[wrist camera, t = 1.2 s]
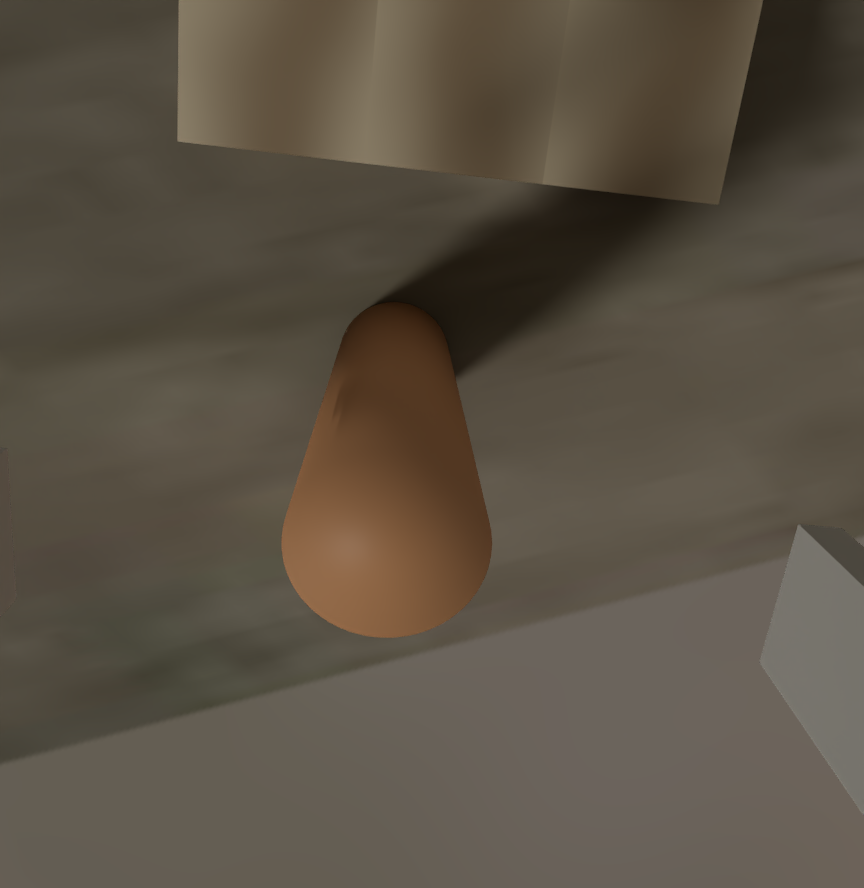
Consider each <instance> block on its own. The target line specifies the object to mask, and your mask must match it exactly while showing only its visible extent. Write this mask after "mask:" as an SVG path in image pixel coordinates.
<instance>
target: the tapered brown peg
mask: <svg viewBox="0 0 864 888" xmlns="http://www.w3.org/2000/svg"><path fill="white" fill-rule="evenodd" d="M491 550H492V536H491V528H490V523H489V519H488V515H487V510H486V506H485V502H484V498H483V493H482V489H481V485H480V481H479V476H478V472H477V468H476V464H475V459H474V455H473V451H472V447H471V442H470V438H469V434H468V430H467V425H466V421H465V417H464V413H463V408H462V404H461V400H460V396H459V391H458V387H457V383H456V379H455V374H454V370H453V366H452V362H451V357H450V353H449V349H448V345H447V341H446V338H445V335H444V333H443V331H442V329H441V328H440V326H439V325H438V323H437V322H436V321H435V320H434V319H433V318H432V317H431V316H430V315H429V314H428V313H426V312H425V311H423V310H422V309H420V308H418V307H416V306H413V305H410V304H407V303H401V302H387V303H382V304H378V305H375V306H372V307H370V308H368V309H366V310H365V311H363V312H362V313H360V314H359V315H358V316H357V317H356V318H355V319H354V320H353V321H352V322H351V323H350V325H349V326H348V328H347V330H346V331H345V334H344V336H343V338H342V342H341V345H340V348H339V351H338V354H337V357H336V360H335V364H334V367H333V370H332V373H331V376H330V379H329V382H328V386H327V389H326V392H325V395H324V398H323V401H322V404H321V407H320V411H319V414H318V417H317V420H316V423H315V426H314V429H313V433H312V436H311V439H310V442H309V445H308V448H307V451H306V454H305V458H304V461H303V464H302V467H301V470H300V473H299V476H298V480H297V483H296V486H295V489H294V492H293V495H292V498H291V501H290V505H289V508H288V511H287V514H286V518H285V521H284V525H283V531H282V554H283V561H284V565H285V568H286V571H287V574H288V576H289V579H290V581H291V583H292V585H293V587H294V588H295V590H296V591H297V593H298V594H299V596H300V597H301V598H302V599H303V600H304V602H305V603H306V604H307V605H308V606H309V607H310V608H311V609H312V610H313V611H314V612H316V613H317V614H318V615H319V616H321V617H322V618H324V619H325V620H327V621H328V622H330V623H332V624H334V625H336V626H338V627H339V628H342V629H345V630H347V631H350V632H353V633H357V634H360V635H364V636H371V637H385V638H392V637H403V636H409V635H413V634H418V633H421V632H424V631H427V630H430V629H432V628H434V627H436V626H438V625H440V624H442V623H444V622H445V621H447V620H449V619H450V618H452V617H453V616H454V615H456V614H457V613H458V612H459V611H460V610H462V609H463V608H464V607H465V606H466V605H467V604H468V602H469V601H470V600H471V599H472V598H473V596H474V595H475V594H476V592H477V591H478V589H479V587H480V586H481V584H482V582H483V580H484V578H485V575H486V573H487V570H488V567H489V563H490V558H491Z"/></svg>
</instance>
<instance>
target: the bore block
mask: <svg viewBox="0 0 864 888" xmlns="http://www.w3.org/2000/svg"><path fill="white" fill-rule="evenodd" d="M762 4H763V0H179V42H178V142H187V143H195V144H204V145H212V146H221V147H229V148H238V149H246V150H255V151H263V152H272V153H280V154H289V155H297V156H306V157H314V158H323V159H331V160H340V161H348V162H357V163H365V164H374V165H382V166H391V167H400V168H408V169H417V170H425V171H434V172H442V173H451V174H459V175H468V176H476V177H485V178H493V179H502V180H510V181H519V182H527V183H536V184H544V185H553V186H561V187H570V188H578V189H587V190H595V191H604V192H613V193H621V194H630V195H638V196H647V197H655V198H664V199H672V200H681V201H689V202H698V203H706V204H715V205H719V201H720V196H721V192H722V187H723V183H724V178H725V173H726V169H727V164H728V160H729V155H730V150H731V146H732V141H733V137H734V132H735V128H736V123H737V118H738V114H739V109H740V105H741V100H742V95H743V91H744V86H745V82H746V77H747V72H748V68H749V63H750V59H751V54H752V50H753V45H754V40H755V36H756V31H757V27H758V22H759V17H760V13H761V8H762Z"/></svg>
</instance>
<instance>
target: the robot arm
mask: <svg viewBox="0 0 864 888" xmlns="http://www.w3.org/2000/svg"><path fill="white" fill-rule="evenodd" d="M15 600H16V585H15V568H14V551H13V535H12V518H11V502H10V485H9V468H8V452H7V448H0V617H1V616H2V614H3V613H4V612H5V611H6V610H7V609H8V608H9V607H10V606H11V604H12V603H13V602H14V601H15ZM759 663H760V664H761V666H762V667H763V669H764V670H765V672H766V673H767V674H768V676H769V677H770V679H771V680H772V682H773V683H774V685H775V686H776V688H777V689H778V691H779V692H780V694H781V695H782V697H783V698H784V699H785V701H786V702H787V704H788V705H789V707H790V708H791V710H792V711H793V713H794V714H795V716H796V717H797V718H798V720H799V721H800V723H801V724H802V726H803V727H804V729H805V730H806V732H807V733H808V735H809V736H810V738H811V739H812V740H813V742H814V744H815V745H816V746H817V748H818V749H819V751H820V752H821V754H822V755H823V757H824V758H825V760H826V761H827V763H828V764H829V765H830V767H831V768H832V770H833V771H834V773H835V774H836V776H837V777H838V779H839V780H840V782H841V783H842V785H843V786H844V787H845V789H846V791H847V792H848V793H849V795H850V796H851V798H852V799H853V801H854V802H855V804H856V805H857V807H858V808H859V810H860V811H861V813H862V814H863V815H864V547H863V546H862V545H861V544H860V543H858V542H857V541H856V540H855V539H854V538H853V537H852V536H850V535H849V534H848V533H847V532H846V531H845V530H844V529H842V528H835V527H824V526H814V525H803V524H798V528H797V531H796V535H795V538H794V542H793V545H792V549H791V552H790V556H789V559H788V563H787V567H786V570H785V574H784V577H783V581H782V584H781V588H780V591H779V595H778V598H777V602H776V605H775V609H774V613H773V616H772V620H771V623H770V627H769V631H768V634H767V637H766V641H765V645H764V649H763V652H762V655H761V659H760V662H759Z"/></svg>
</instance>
